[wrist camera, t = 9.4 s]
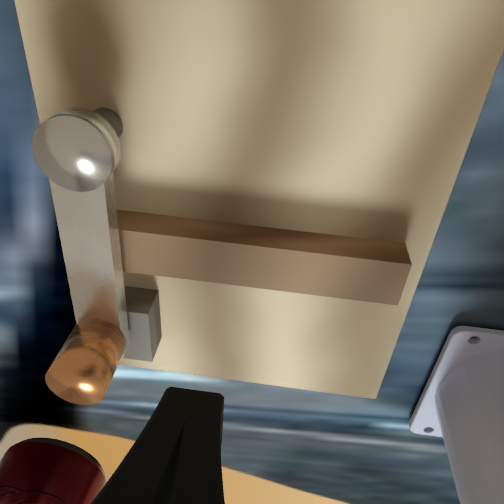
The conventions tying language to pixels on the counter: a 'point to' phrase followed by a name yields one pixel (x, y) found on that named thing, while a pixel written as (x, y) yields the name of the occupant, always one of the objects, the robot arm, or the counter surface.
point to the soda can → (49, 473)
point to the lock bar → (86, 249)
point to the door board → (272, 167)
